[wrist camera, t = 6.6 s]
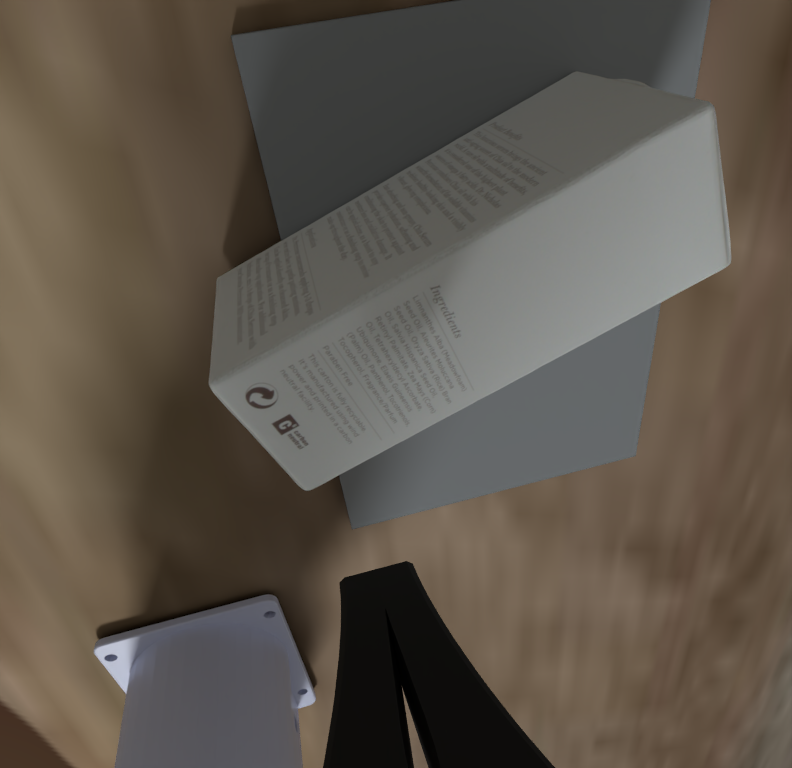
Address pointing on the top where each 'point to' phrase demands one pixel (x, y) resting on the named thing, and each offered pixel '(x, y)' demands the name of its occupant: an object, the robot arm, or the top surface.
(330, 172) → the mat
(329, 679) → the top surface
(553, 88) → the skincare box
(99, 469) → the top surface
